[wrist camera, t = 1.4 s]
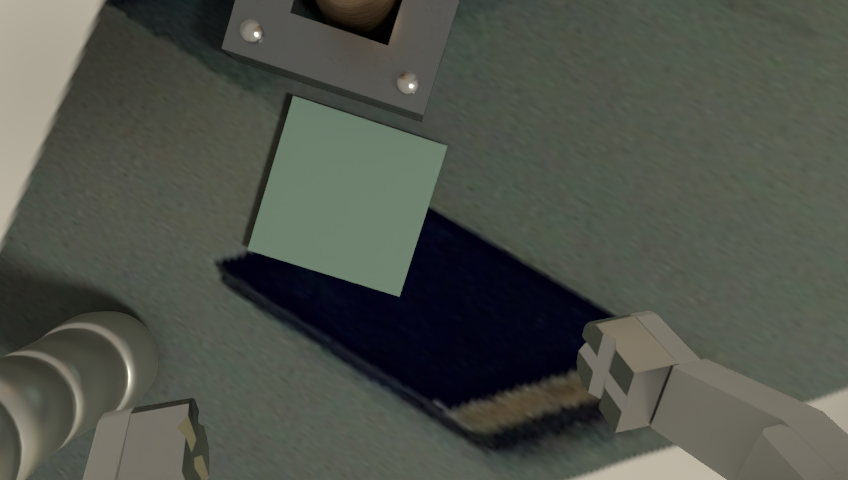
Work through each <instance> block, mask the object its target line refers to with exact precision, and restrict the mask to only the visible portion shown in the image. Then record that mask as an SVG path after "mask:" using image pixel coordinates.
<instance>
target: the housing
mask: <svg viewBox="0 0 848 480" xmlns="http://www.w3.org/2000/svg"><path fill="white" fill-rule="evenodd" d="M308 1H309V0H235V3H234V6H233V10H232V13H231V17H230V20H229V24H228V27H227V31H226V34H225V38H224V41H223V45H222V48H221V49H223V50H224V51H225V52H226V53H228V54H229V55H230V56H231V57H233V58H234V59H235V60H236V61H238V62H241V63H244V64H247V65H250V66H253V67H256V68H259V69H262V70H265V71H268V72H271V73H274V74H277V75H280V76H283V77H287V78H290V79H293V80H296V81H299V82H302V83H305V84H308V85H311V86H314V87H317V88H320V89H323V90H326V91H329V92H332V93H335V94H338V95H341V96H344V97H347V98H350V99H353V100H357V101H360V102H363V103H366V104H369V105H372V106H375V107H378V108H381V109H384V110H387V111H390V112H393V113H396V114H399V115H402V116H405V117H408V118H411V119H414V120H417V121H420V122H422V119H423V116H424V113H425V110H426V107H427V103H428V100H429V97H430V94H431V91H432V88H433V84H434V81H435V78H436V75H437V72H438V68H439V65H440V62H441V59H442V56H443V53H444V49H445V46H446V43H447V40H448V37H449V33H450V30H451V27H452V24H453V21H454V18H455V14H456V11H457V8H458V5H459V2H460V0H402V2H401V6H400V9H399V12H398V15H397V19H396V22H395V25H394V28H393V32H392V35H391V38H390V41H389V45H385V44H382V43H379V42H376V41H373V40H370V39H367V38H364V37H361V36H358V35H355V34H352V33H349V32H346V31H343V30H340V29H337V28H334V27H331V26H328V25H325V24H322V23H319V22H316V21H313V20H310V19H307V18H304V14H305V11H306V7H307V4H308Z"/></svg>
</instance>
